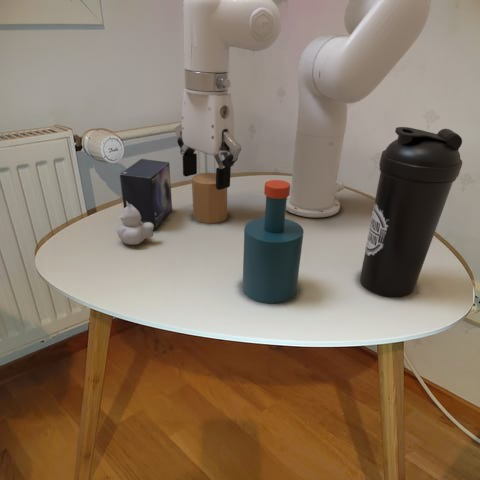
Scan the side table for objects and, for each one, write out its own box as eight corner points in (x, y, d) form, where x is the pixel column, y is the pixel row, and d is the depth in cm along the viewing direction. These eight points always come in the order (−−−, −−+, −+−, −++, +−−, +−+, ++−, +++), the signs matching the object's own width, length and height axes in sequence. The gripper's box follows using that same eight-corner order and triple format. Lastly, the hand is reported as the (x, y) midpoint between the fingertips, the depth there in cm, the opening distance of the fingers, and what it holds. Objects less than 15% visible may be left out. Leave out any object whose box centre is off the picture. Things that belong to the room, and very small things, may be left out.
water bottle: (349, 266, 72) (379, 120, 58) (409, 268, 71) (453, 123, 58) (361, 299, 63) (399, 138, 50) (428, 302, 63) (485, 141, 50)
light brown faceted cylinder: (211, 207, 91) (210, 170, 86) (233, 217, 87) (233, 178, 83) (187, 216, 87) (185, 177, 82) (209, 226, 83) (208, 186, 79)
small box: (156, 231, 81) (151, 177, 74) (124, 228, 82) (116, 174, 75) (174, 211, 89) (170, 160, 83) (145, 208, 90) (139, 157, 84)
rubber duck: (122, 236, 79) (115, 194, 74) (157, 236, 79) (153, 195, 74) (116, 249, 74) (108, 206, 70) (153, 249, 75) (148, 206, 70)
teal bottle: (267, 269, 70) (274, 170, 60) (307, 289, 65) (322, 184, 56) (231, 287, 65) (232, 182, 55) (271, 310, 61) (281, 200, 51)
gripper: (257, 88, 70) (250, 189, 80) (190, 75, 79) (192, 167, 90) (225, 91, 66) (222, 198, 76) (158, 77, 75) (163, 173, 85)
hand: (206, 181), depth 83 cm, fingers open, 9 cm apart
